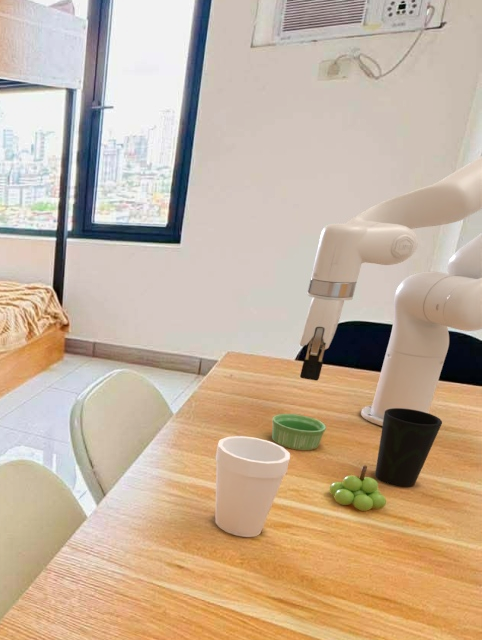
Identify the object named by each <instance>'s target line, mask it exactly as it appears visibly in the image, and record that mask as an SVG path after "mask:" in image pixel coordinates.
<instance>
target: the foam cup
mask: <svg viewBox="0 0 482 640" xmlns="http://www.w3.org/2000/svg"><path fill="white" fill-rule="evenodd" d="M285 448H286V447H284V446H282V445H280V444H278V443H276V442H274V441H273V442H272V441H270V440H266V439H263V438H258V437H252V436H244V435H242V436H241V435H237V436H226V437H223V438H221V439H219V440H218V443H217V446H216V453H215V458H214V460H215V461H216V468H215V469H216V470H215V471H216V472H215V473H216V475H215V509H214V510H215V515H214V516H215V517H214V519H215V522H214V523H215V524H216V525H217V527H218V528H219V529H220V530H222V531H223V532H225V533H228V534H230V535H234V536H235V537H236V536H237V537H243V538H252V537H257V536H259V535H260V534H261V532H262V531H263V529H264V526H265V524H266V522H267V519H268V516H269V514H270V511H271V508H272V506H273V504H274V501H275V498H276V497H277V494H278V491H279V489H280V486H281V484H282V483H283V482H282V481H283V479H284V476H285V475H287V474H288V473H287V472H288V469H289V465H290V459H291V453H290V452H289V451H288V449H285Z"/></svg>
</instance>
